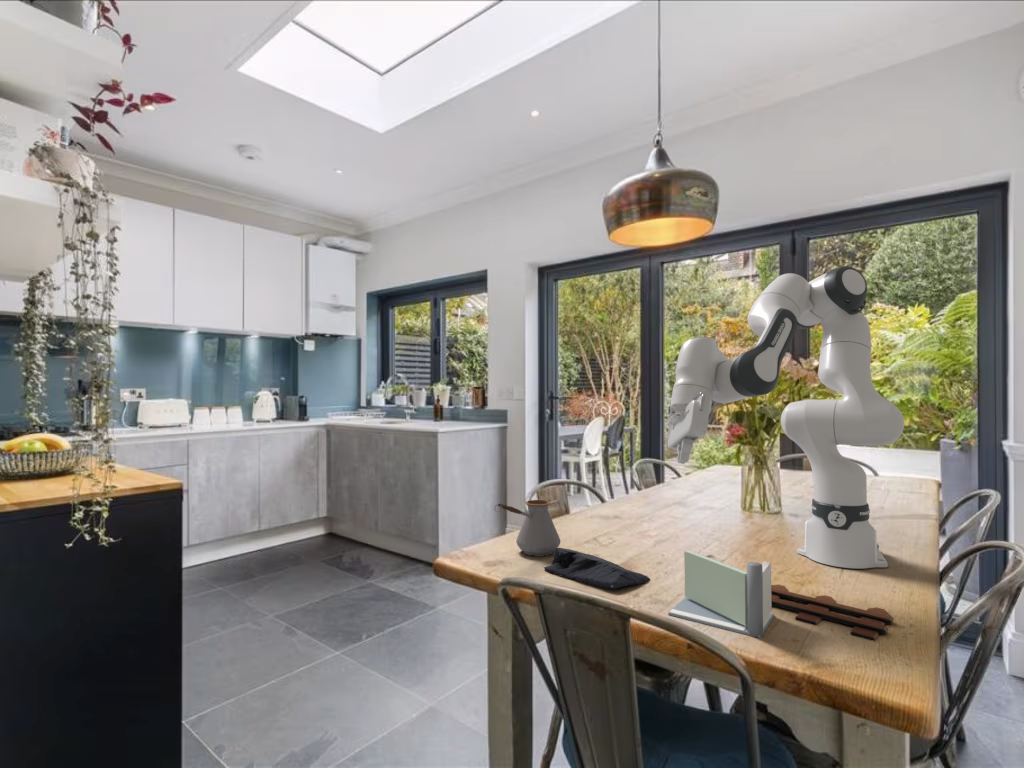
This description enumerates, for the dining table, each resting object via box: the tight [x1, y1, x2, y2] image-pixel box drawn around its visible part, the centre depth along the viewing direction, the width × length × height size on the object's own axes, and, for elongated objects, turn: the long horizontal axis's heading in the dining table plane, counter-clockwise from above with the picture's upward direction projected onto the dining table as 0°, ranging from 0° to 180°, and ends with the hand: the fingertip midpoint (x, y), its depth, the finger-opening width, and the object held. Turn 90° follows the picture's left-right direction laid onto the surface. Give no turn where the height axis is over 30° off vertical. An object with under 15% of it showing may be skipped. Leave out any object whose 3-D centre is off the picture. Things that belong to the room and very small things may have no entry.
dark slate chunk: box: [543, 547, 651, 590], centre depth 124 cm, size 15×22×5 cm
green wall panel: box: [683, 549, 748, 626], centre depth 101 cm, size 15×1×9 cm, turn 25°
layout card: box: [668, 596, 775, 639], centre depth 101 cm, size 11×16×1 cm
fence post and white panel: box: [746, 560, 773, 638], centre depth 96 cm, size 11×2×12 cm, turn 143°
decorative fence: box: [771, 584, 895, 642], centre depth 103 cm, size 23×2×15 cm
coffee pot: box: [494, 499, 561, 557], centre depth 137 cm, size 21×12×15 cm, turn 139°
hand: (682, 462), depth 119 cm, fingers closed
